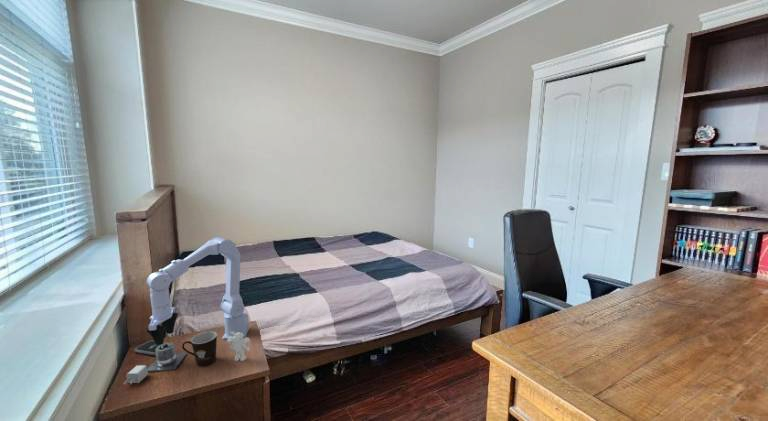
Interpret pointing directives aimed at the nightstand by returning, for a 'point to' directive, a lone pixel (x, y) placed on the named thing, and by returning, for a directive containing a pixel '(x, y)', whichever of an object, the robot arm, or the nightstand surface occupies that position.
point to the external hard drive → (147, 348)
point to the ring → (165, 351)
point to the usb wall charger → (137, 374)
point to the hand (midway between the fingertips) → (165, 338)
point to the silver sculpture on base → (167, 363)
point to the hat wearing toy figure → (238, 345)
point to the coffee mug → (203, 348)
